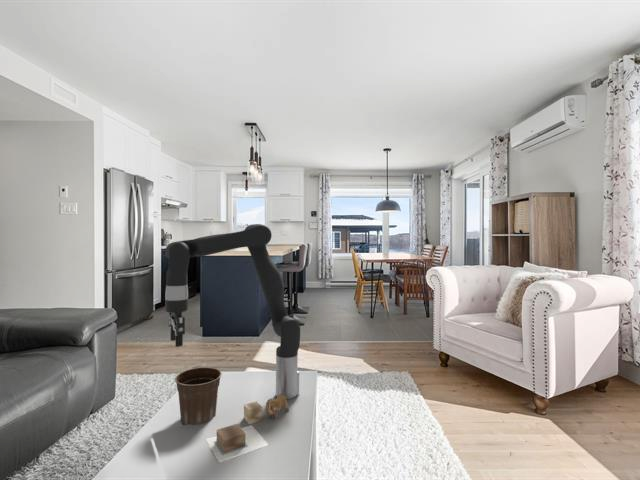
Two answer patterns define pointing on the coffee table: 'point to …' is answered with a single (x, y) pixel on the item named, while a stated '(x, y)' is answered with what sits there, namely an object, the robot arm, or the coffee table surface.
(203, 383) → the plant pot
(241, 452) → the board
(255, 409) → the oak block
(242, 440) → the walnut plinth
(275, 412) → the lion figurine
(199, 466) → the coffee table surface
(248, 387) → the coffee table surface
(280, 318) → the robot arm
